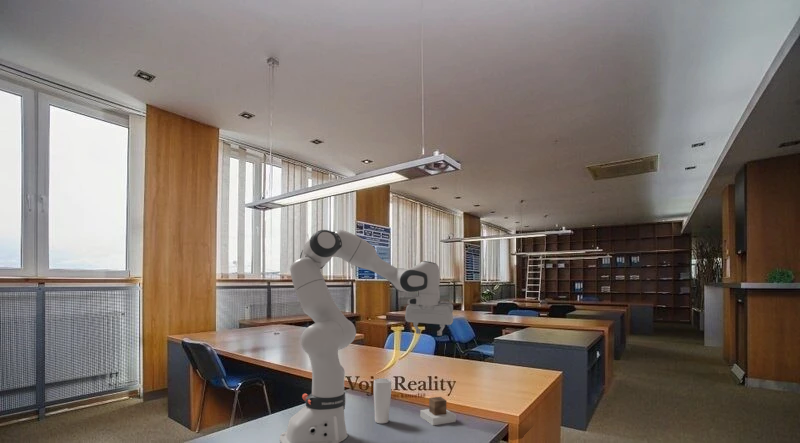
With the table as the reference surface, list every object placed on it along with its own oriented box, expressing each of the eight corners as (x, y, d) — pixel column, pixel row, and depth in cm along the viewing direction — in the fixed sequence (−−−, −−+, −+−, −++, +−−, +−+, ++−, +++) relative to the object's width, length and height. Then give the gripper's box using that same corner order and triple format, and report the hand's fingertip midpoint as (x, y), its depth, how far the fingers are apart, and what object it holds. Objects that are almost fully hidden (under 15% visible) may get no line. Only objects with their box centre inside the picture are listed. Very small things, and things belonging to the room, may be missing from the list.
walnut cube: (434, 415, 158) (434, 401, 158) (429, 411, 162) (429, 397, 163) (446, 414, 159) (446, 400, 160) (440, 409, 164) (440, 396, 165)
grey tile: (433, 425, 154) (433, 418, 155) (420, 416, 163) (420, 410, 164) (455, 421, 158) (455, 414, 159) (442, 413, 167) (442, 407, 168)
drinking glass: (388, 425, 153) (389, 383, 155) (370, 423, 155) (371, 382, 157) (392, 419, 160) (393, 378, 162) (375, 417, 161) (376, 377, 163)
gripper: (455, 301, 172) (455, 335, 170) (409, 299, 180) (409, 331, 179) (450, 302, 166) (450, 337, 165) (403, 299, 175) (403, 333, 173)
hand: (428, 334), depth 172 cm, fingers open, 8 cm apart
